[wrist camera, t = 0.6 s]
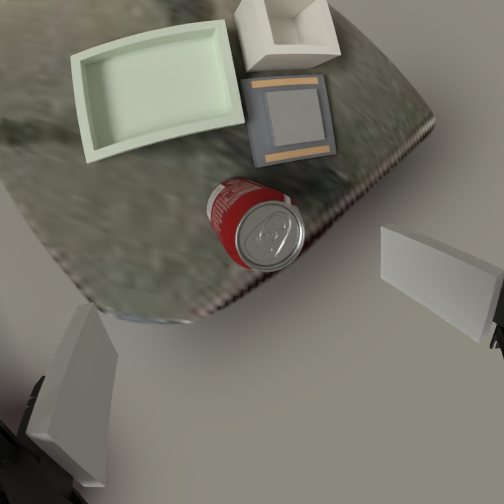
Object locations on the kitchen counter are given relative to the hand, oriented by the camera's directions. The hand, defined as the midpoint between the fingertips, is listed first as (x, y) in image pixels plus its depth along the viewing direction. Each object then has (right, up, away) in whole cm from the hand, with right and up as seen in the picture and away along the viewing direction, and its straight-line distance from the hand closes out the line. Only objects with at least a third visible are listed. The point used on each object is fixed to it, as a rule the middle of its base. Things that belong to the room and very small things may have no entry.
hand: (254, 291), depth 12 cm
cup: (+2, +26, +15) cm, 30 cm away
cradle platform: (+4, +16, +17) cm, 24 cm away
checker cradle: (+4, +17, +19) cm, 25 cm away
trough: (-10, +19, +14) cm, 25 cm away
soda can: (-2, +7, +21) cm, 22 cm away
